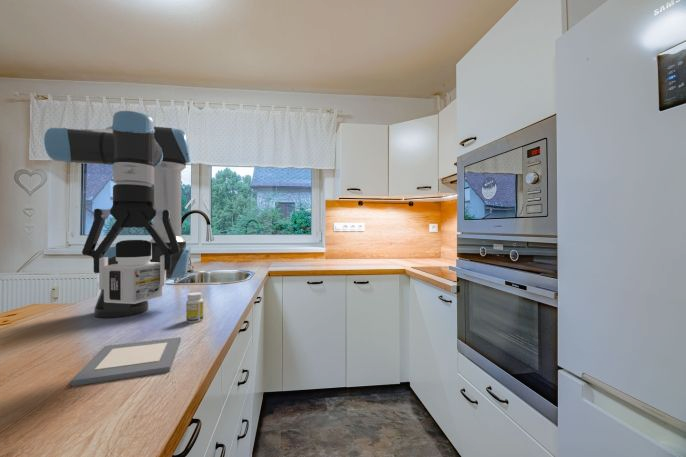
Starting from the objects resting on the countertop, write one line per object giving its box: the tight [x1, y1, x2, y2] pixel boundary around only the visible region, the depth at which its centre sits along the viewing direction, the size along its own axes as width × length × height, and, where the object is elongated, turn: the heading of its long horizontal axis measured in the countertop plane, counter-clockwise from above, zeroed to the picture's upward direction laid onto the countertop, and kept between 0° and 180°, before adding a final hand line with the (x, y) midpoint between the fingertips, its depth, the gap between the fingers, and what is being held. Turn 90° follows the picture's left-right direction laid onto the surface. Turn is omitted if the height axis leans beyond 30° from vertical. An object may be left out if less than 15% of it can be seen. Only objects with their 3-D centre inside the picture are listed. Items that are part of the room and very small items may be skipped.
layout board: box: [70, 336, 181, 387], centre depth 68 cm, size 18×16×1 cm
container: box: [104, 239, 163, 304], centre depth 68 cm, size 8×8×13 cm
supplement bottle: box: [185, 291, 204, 324], centre depth 97 cm, size 5×5×8 cm
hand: (134, 286), depth 68 cm, fingers closed on container, 10 cm apart
